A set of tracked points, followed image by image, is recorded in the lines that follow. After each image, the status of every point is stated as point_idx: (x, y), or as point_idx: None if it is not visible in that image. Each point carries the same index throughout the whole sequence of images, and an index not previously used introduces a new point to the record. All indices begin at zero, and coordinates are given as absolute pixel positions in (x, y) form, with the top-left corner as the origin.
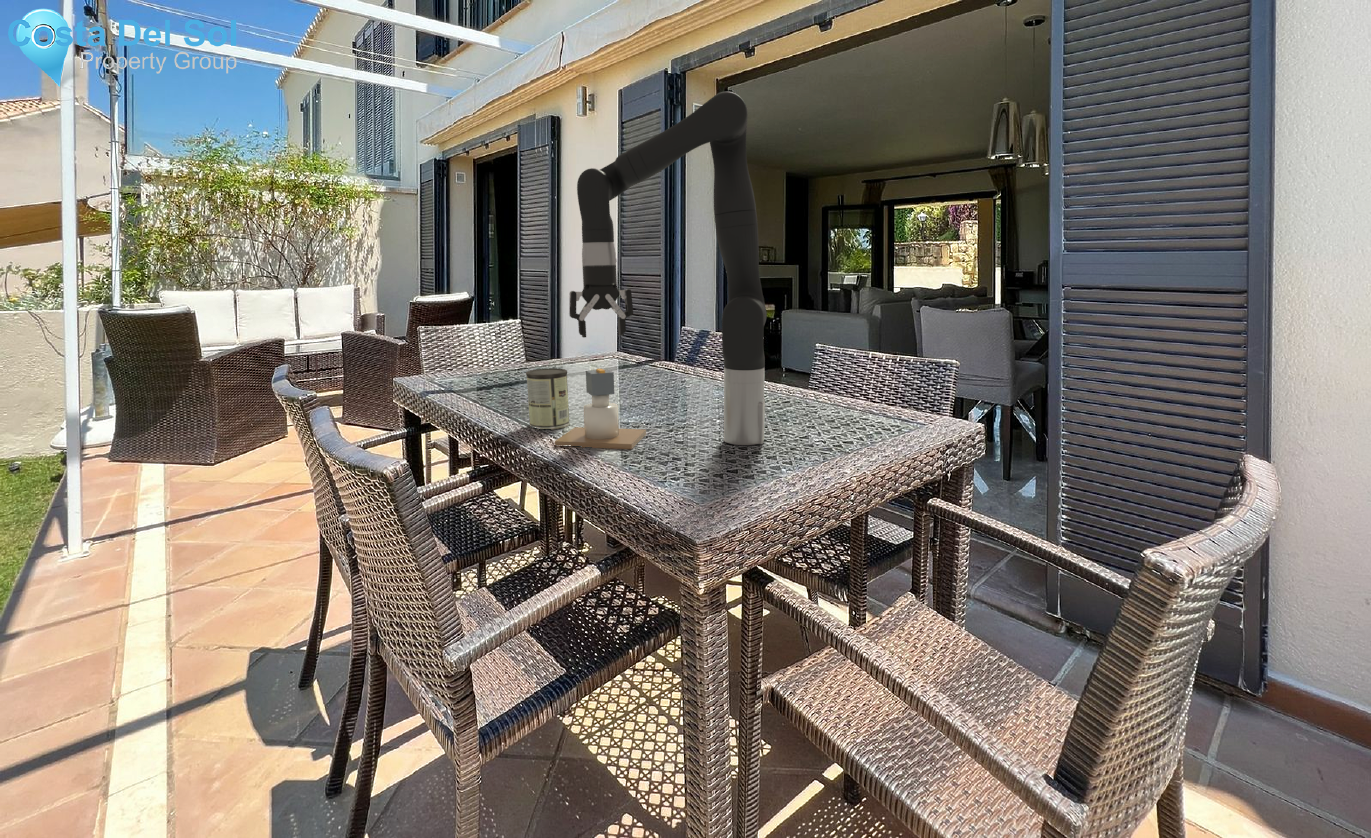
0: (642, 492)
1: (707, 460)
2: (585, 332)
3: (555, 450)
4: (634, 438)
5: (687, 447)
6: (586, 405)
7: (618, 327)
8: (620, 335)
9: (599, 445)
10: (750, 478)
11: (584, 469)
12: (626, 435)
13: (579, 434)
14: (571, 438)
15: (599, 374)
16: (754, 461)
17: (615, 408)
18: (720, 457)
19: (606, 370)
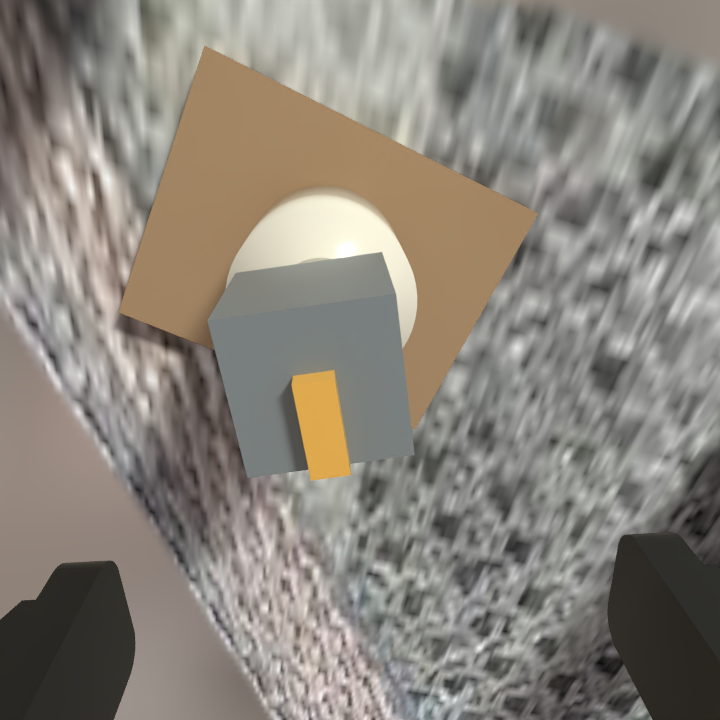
0: None
1: (595, 578)
2: (105, 715)
3: (131, 362)
4: (445, 355)
5: (603, 441)
6: (243, 267)
7: (679, 623)
8: (612, 611)
9: None
10: (620, 711)
11: (234, 580)
12: (426, 297)
13: (224, 221)
14: (188, 285)
15: (307, 465)
16: None
17: None
18: None
19: (378, 353)
